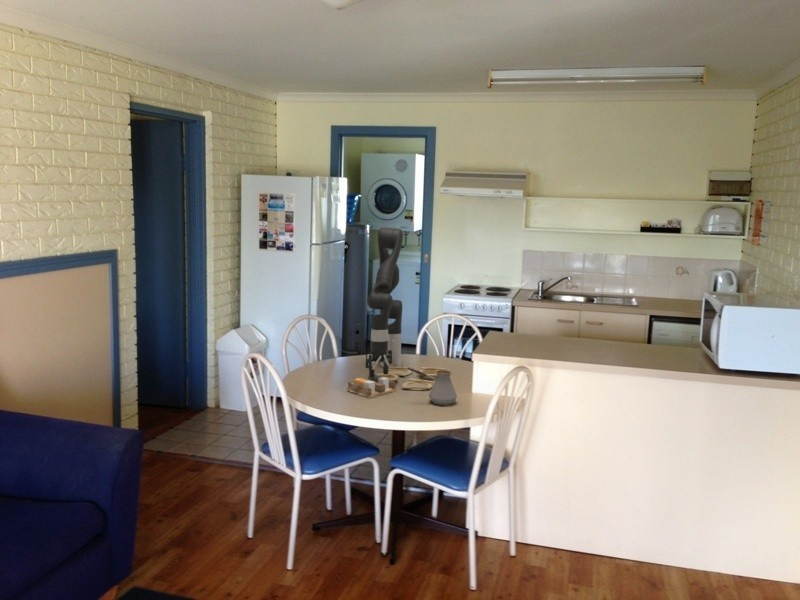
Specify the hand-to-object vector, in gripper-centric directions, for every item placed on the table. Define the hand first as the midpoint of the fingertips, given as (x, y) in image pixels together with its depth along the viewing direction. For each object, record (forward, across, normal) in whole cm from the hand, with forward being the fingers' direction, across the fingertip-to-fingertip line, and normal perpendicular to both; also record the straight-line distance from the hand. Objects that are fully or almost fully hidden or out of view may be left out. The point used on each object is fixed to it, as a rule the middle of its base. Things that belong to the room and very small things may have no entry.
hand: (378, 375), depth 299 cm
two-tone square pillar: (+5, 0, 0) cm, 5 cm away
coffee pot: (+6, -2, +28) cm, 29 cm away
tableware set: (+7, -21, -2) cm, 23 cm away
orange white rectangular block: (+5, +8, 0) cm, 10 cm away
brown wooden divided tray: (+6, +4, 0) cm, 7 cm away
